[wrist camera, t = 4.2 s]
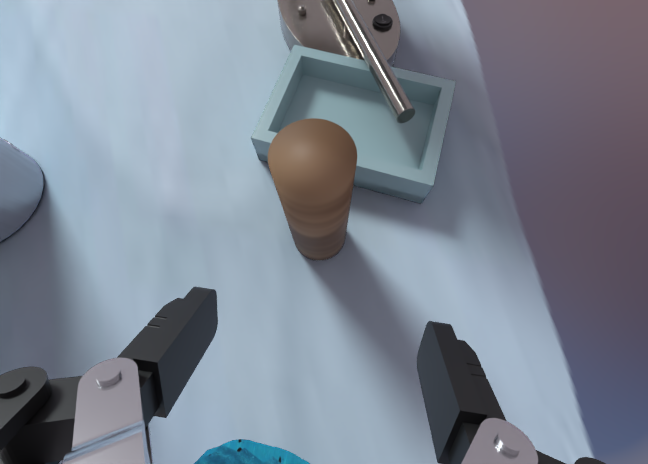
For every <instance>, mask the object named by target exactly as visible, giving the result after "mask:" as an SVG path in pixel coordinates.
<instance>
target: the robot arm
mask: <svg viewBox="0 0 648 464" xmlns="http://www.w3.org/2000/svg"><path fill="white" fill-rule="evenodd" d="M42 191H43V175H42V172H41V168H40V167H39V165H38V164H37V162H36V161H35V160H34V159H33V158H31V157H30V156H29V155H27V154H26V153H24V152H23V151H21V150H19V149H18V148H17V147H15V146H14V145H13V144H11V143H9V142H8V141H6V140H5V139H2V138H1V137H0V241H2V240H4V239H6V238H7V237H9V236H10V235H12V234H13V233H14V232H15V231H17V230H18V229H19V228H20V227H21V226H22V225H23V224H24V223H25V222H26V221H27V220H28V219H29V218H30V216H31V215H32V213H33V212H34V210H35V209H36V207H37V205H38V203H39V201H40V198H41V195H42ZM217 324H218V317H217V295H216V291H215V290H214V289H207V288H201V287H193V288H192V289H191V291H190V292H189V293H188V294H187V295H186V296H185V298H184V299H181V298H177V299H175V300H173V301H172V302H170V303H168V304H166V305H165V306H164V307H163V308H162V309H161V310H160V311H159V312H158V313H157V314H156V315H155V318H153V319H152V320H151V321H150V322H149V323H148V325H147V326H145V327H144V329H143V330H142V331H141V332H140V333H139V334H138V335H137V336H136V337H135V338H134V339H133V341H132V342H131V343H130V344H129V345H128V346H127V347H126V348H125V349H124V350H123V351H122V353H121V354H120V355H119V356H118V357H117V358H113V359H109V360H106V361H103V362H101V363H99V364H97V365H95V366H94V367H92V368H91V369H89V370H88V371H87V372H86V373H85V374H84V375H83V376H78V377H69V378H60V379H52V380H49V379H48V377H47V374H46V372H45V371H44V370H43V369H41V368H39V367H24V368H19V369H15V370H12V371H9V372H7V373H5V374H2V375H0V464H58V463H59V462H60V461H61V460H63V464H153V456H152V447H151V438H150V429H149V422H150V421H151V419H152V417H153V416H158V417H164V418H166V417H167V416H168V414H169V412H170V411H171V409H172V407H173V406H174V404H175V402H176V401H177V399H178V397H179V395H180V394H181V392H182V390H183V389H184V387H185V385H186V384H187V382H188V380H189V379H190V377H191V375H192V373H193V372H194V370H195V368H196V367H197V365H198V363H199V362H200V360H201V358H202V357H203V355H204V353H205V352H206V350H207V348H208V346H209V345H210V343H211V341H212V340H213V338H214V336H215V333H216V330H217ZM417 369H418V374H419V379H420V384H421V388H422V393H423V397H424V402H425V407H426V411H427V416H428V421H429V425H430V430H431V435H432V439H433V444H434V448H435V453H436V458H437V462H438V463H440V464H565V463H563V462H561V461H559V460H556V459H554V458H552V457H550V456H548V455H545V454H543V453H541V452H539V451H537V450H535V447H534V446H533V444H532V442H531V441H530V440H529V438H528V437H527V436H526V435H525V434H524V433H523V432H522V431H521V430H520V429H518V428H517V427H516V426H514V425H513V424H511V423H509V422H507V421H506V419H505V417H504V415H503V412H502V410H501V408H500V406H499V404H498V401H497V399H496V397H495V395H494V393H493V390H492V388H491V386H490V384H489V382H488V379H486V375H485V373H484V371H483V368H481V364H480V362H479V359H478V357H477V355H476V353H475V352H474V351H473V350H472V348H471V347H470V346H469V345H468V344H467V343H466V342H465V341H462V340H457V338H456V335H455V333H454V331H453V328H452V326H451V325H450V324H445V323H439V322H432V321H429V322H428V323H427V325H426V328H425V331H424V334H423V338H422V341H421V344H420V347H419V351H418V355H417ZM574 464H605V463H603V462H601V461H599V460H596V459H593V458H588V457H582V458H579V459H578V460H577V461H576V462H575V463H574Z"/></svg>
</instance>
